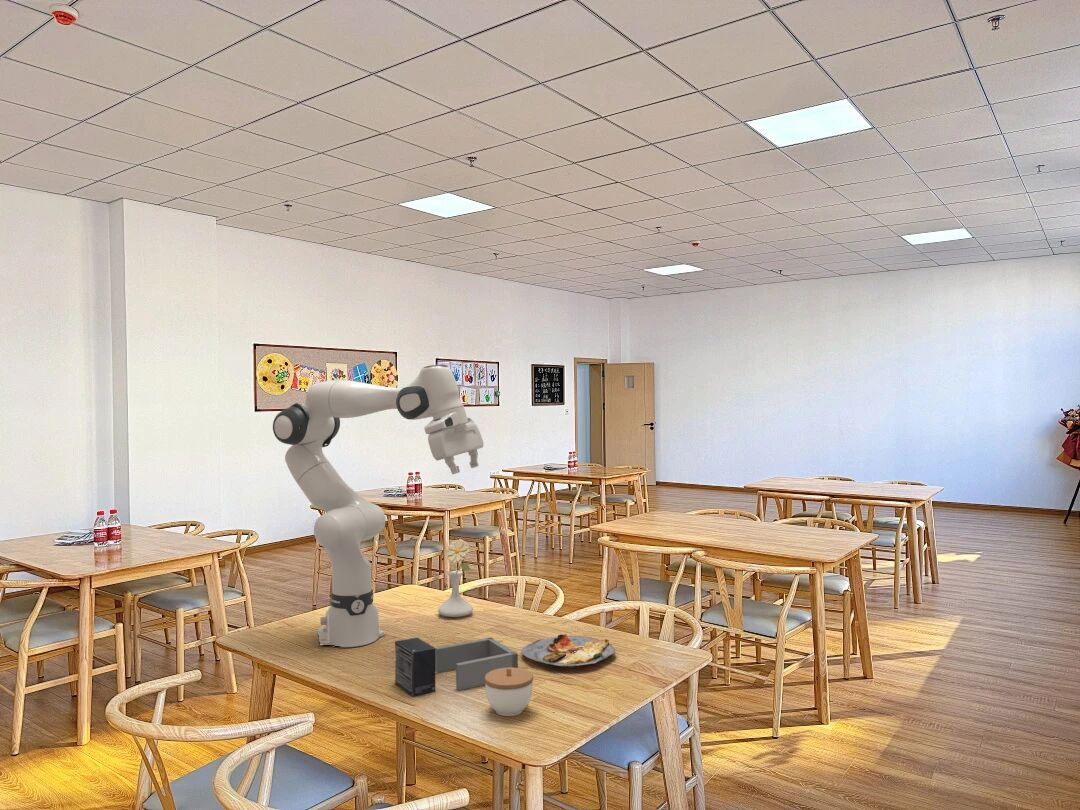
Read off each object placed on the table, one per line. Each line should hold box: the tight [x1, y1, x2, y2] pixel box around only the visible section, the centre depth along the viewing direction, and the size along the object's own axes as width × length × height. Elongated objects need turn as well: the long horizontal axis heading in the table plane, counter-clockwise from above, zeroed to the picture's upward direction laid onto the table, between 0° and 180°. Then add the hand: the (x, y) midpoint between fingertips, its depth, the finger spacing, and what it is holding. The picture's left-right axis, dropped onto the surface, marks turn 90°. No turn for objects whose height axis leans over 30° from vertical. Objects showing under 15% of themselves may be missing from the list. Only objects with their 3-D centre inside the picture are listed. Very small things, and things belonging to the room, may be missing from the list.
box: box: [435, 637, 519, 691], centre depth 187 cm, size 15×16×6 cm
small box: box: [394, 637, 436, 697], centre depth 179 cm, size 11×6×10 cm, turn 34°
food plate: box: [520, 633, 616, 669], centre depth 200 cm, size 25×23×4 cm
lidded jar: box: [484, 667, 534, 717], centre depth 165 cm, size 11×11×9 cm
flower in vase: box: [437, 538, 474, 618], centre depth 240 cm, size 13×11×25 cm
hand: (465, 470), depth 201 cm, fingers open, 8 cm apart
